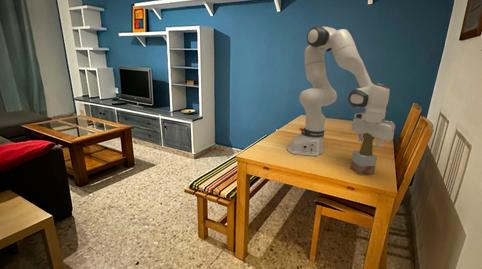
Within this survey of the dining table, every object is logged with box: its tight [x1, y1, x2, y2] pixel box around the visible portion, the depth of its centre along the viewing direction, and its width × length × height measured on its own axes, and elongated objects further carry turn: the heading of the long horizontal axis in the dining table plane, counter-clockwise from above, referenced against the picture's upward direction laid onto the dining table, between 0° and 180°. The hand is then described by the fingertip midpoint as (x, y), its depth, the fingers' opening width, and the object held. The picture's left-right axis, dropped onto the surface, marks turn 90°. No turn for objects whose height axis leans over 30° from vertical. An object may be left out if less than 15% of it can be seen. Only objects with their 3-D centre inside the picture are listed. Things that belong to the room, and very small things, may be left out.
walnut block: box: [349, 159, 376, 176], centre depth 129 cm, size 8×8×5 cm
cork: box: [359, 133, 375, 156], centre depth 125 cm, size 6×6×11 cm
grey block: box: [351, 150, 378, 167], centre depth 128 cm, size 8×8×5 cm
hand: (368, 144), depth 125 cm, fingers open, 8 cm apart
